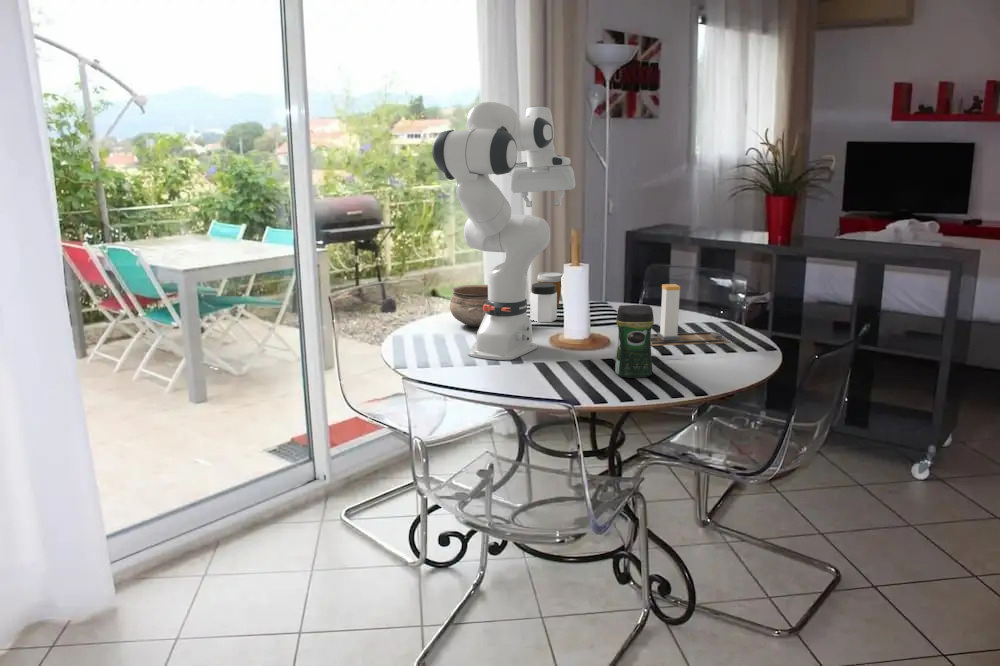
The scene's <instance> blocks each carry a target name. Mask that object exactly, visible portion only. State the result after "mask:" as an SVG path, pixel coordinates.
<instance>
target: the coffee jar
mask: <svg viewBox="0 0 1000 666" xmlns="http://www.w3.org/2000/svg"><path fill="white" fill-rule="evenodd" d="M615 321H616V326H617V329H618V339H617V349H616V356H615V357H616V358H615V366H614V367H615V368H614V370H615V371H614V372H615V373H616V375H618V376H620V377H623V378H635V379H637V378H647V377H650V376H652V374H653V360H652V359H653V358H652V346H651V334H652V328H653V326H654V323H655V320H654V310H653V307H652V306H650V305H647V304H646V305H645V304H644V305H643V304H631V305H630V304H628V305H627V304H625V305H621V304H620V305H619V306H618V309H617V314H616V319H615Z"/></svg>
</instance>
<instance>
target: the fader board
mask: <svg viewBox="0 0 1000 666" xmlns="http://www.w3.org/2000/svg"><path fill="white" fill-rule="evenodd" d="M677 335H678V336H680V340H668V341H663V340H662V339H661V338H660V337H658V336H657V333H651V347H654V346H658V347H659V346H678V345H679V346H680V345H681V346H682V345H685V346H686V345H704V344H705V345H706V344H712V345H713V344H731V343H732V342H731V341H729V340H728V339H726V338H724V337H723V335H722V334H720V333H719V332H715V331H707V332H706V331H705V332H704V331H703V332H701V331H700V332H699V331H698V332H678V333H677Z"/></svg>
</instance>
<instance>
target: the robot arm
mask: <svg viewBox="0 0 1000 666" xmlns="http://www.w3.org/2000/svg"><path fill="white" fill-rule="evenodd" d="M553 120H554V119H553V116H552V111H551V108H549V107H548V106H544V105H533V106H529V107H527V108H526V110H525V117H519V116H518V113H517V112H516V111H515V110H514V109H513V108H511V106H509V105H506V104H504V103H500V102H495V101H484V102H480V103H477V104H475V105H474V106H472V108H470V110H469V111H468V114H467V117H466V125H467V128H468V129H459V130H454V129H449V130H444V131H441V132H439V133H438V134H436V136H435V138H434V140H433V144H432V150H431V151H432V158H433V162H434V163H435V165H436V166H437V168H438V169H439V170H440V171H441V172H442V173H443V174H444V176H445V178H446V179H448V180H451V181H452V180H456V187H455V188H456V189H455V190H456V191H455V193H456V194H455V195H456V199H457V200H458V202H459V205H460V207H461V208H462V210H463V212H464V214H465V215H466V216H467V217H468V218H467V220H466V221H465V224H464V226H463V239H464V241H465V242H466V244H467V246H468V247H469V248H471V249H475V250H479V251H483V252H487V253H488V252H491V253H504V254H505V260H504V262H502V263H500V264H498V265H496V266H494V267H493V268H491V269H490V270H489V272H488V276H487V285H488V299H487V301H486V304H484V305H483V311H485V312H486V314H485V316H484V318H483V320H482V322H481V325H480V327H479V329H477V332H476V340H475V342H474V343H473V345H472V346H471V348H470V349H469V350H468V352H467V355H468V356H470V357H472V358H473V357H474V358H477V359H478V358H479V359H485V360H499V361H503V360H504V361H509V360H515V359H517V358H519V357H522V356H523V355H526V354H528V353H529V352H532V351H534V350H536V349H538V344H537V343H534V342H533V328H532V327H533V326H532V325H533V324H532V320H530V316H529V315H528V313H527V311H528V299H527V298H526V288H527V276H528V271H529V269H530V265H532V262H533V261H534V259H536V257H537V256H538V255H539V254H540V253H542V252H544V250H546V248H547V247H548V246H549V243H550V242H551V241H550V240H551V228H550V226H549V223H548V222H547V221H546V219H544V218H542V217H540V216H539V217H538V216H535V215H531V214H517V213H515V214H512V207H511V204H510V203H509V201H508V199H507V198H506V196H505V195H504V194H503V192H502V191H501V190H500V188H499V186H497V185H496V183H494V182H493V181H492V180H491V179H490V175H496V176H500V175H506V174H508V173H509V175H510V191H511V192H512V194H518V193H519V194H521V197H522V198H523V200H524V201H525V204H526V205H525V207H526V208H531V207H533V201H532V200H530V199H529V198H528V196H529V193H535V192H537V193H538V192H553V191H557V194H559V196H558V198H557V199H555V200H554V202H555V206H562V199H563V197H564V196H565V191H567V190H569V191H571V190H574V189H575V187H576V178H575V171H574V169H573V167H572V166H571V158H570V157H567V156H562V155H558V154H556V148H555V146H554V137H555V129H554V128H555V127H554V121H553ZM518 152H525V153H526V161H525V162H524V161H523V162H517V159H518Z"/></svg>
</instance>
